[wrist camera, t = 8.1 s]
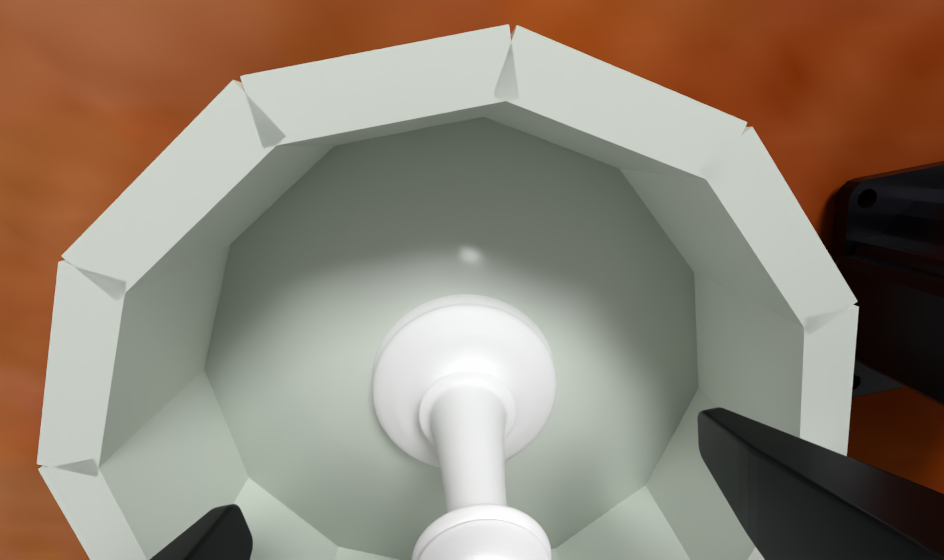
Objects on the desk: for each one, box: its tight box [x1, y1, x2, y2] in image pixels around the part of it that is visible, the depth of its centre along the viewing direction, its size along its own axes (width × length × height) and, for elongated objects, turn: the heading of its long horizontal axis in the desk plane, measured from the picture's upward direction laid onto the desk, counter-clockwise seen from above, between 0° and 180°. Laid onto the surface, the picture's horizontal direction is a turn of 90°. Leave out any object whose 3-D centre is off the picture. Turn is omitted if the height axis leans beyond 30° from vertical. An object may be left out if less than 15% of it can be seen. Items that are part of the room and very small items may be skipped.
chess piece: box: [372, 294, 557, 560], centre depth 7 cm, size 5×5×10 cm
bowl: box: [37, 24, 859, 560], centre depth 11 cm, size 15×15×4 cm
